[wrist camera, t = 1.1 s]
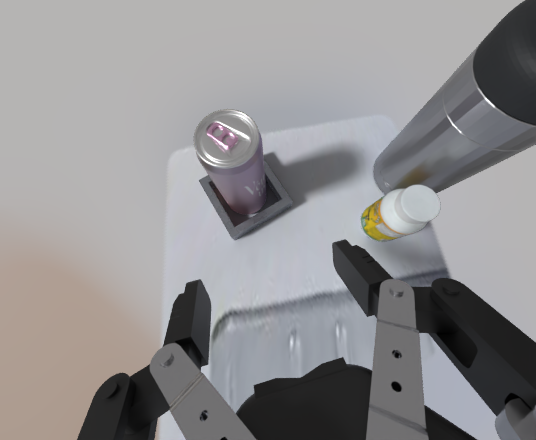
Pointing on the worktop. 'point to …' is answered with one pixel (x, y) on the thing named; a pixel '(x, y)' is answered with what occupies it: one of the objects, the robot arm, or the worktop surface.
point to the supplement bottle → (400, 213)
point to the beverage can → (233, 158)
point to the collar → (259, 218)
